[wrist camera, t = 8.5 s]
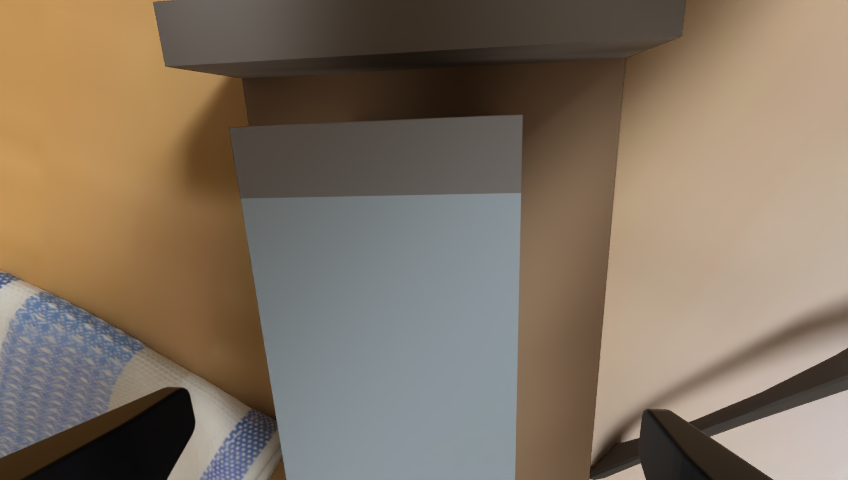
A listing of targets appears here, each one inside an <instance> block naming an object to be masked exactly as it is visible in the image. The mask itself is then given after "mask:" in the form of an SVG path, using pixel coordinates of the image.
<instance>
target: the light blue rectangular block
mask: <svg viewBox="0 0 848 480" xmlns="http://www.w3.org/2000/svg"><path fill="white" fill-rule="evenodd" d="M522 127H523V115H490V116H467V117H444V118H421V119H398V120H375V121H352V122H332V123H312V124H292V125H272V126H251V127H231V128H229V131H230V137H231V143H232V150H233V156H234V162H235V168H236V174H237V180H238V186H239V192H240V199H241V205H242V211H243V217H244V223H245V229H246V235H247V241H248V248H249V254H250V260H251V266H252V272H253V278H254V284H255V290H256V297H257V303H258V309H259V315H260V321H261V327H262V333H263V339H264V346H265V352H266V358H267V364H268V370H269V376H270V382H271V389H272V395H273V401H274V407H275V413H276V419H277V425H278V431H279V438H280V444H281V450H282V456H283V462H284V468H285V474H286V480H515V458H516V411H517V363H518V316H519V269H520V221H521V174H522Z"/></svg>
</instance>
